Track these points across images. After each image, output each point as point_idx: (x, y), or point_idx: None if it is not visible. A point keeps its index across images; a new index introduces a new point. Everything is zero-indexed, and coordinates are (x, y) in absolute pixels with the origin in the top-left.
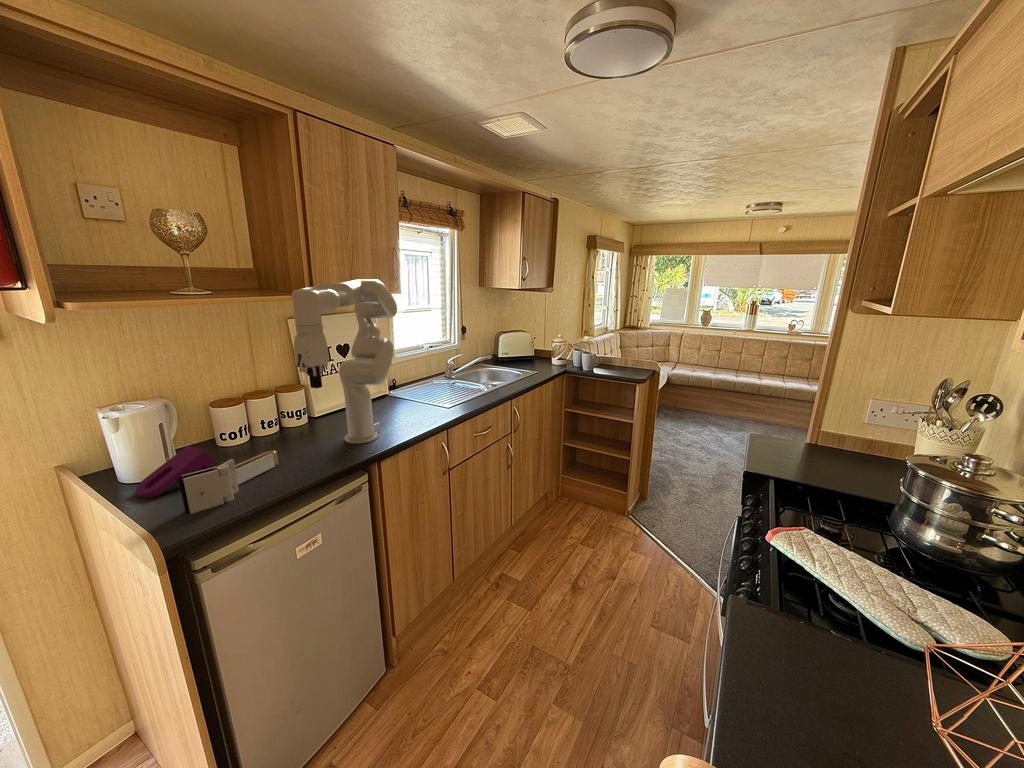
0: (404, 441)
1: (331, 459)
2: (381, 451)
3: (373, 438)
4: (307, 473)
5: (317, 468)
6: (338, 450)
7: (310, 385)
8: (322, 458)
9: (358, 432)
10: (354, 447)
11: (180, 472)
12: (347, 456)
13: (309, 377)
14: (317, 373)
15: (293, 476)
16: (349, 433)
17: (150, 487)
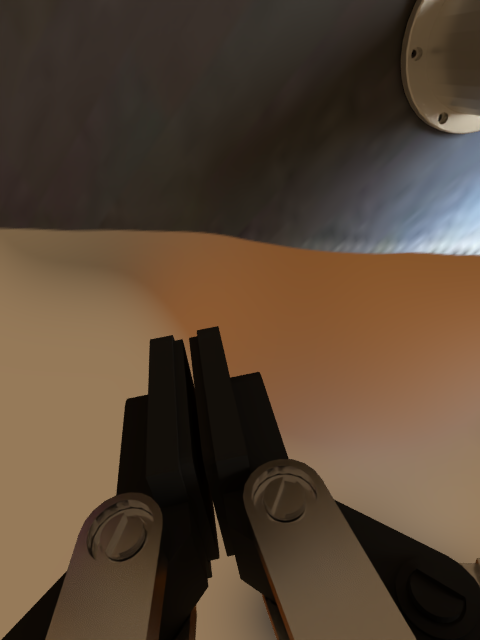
0: (463, 253)
1: (223, 130)
2: (358, 250)
3: (460, 133)
4: (79, 161)
5: (132, 156)
6: (314, 66)
7: (150, 351)
8: (213, 77)
9: (452, 87)
10: (365, 112)
11: None
12: (275, 169)
13: (148, 444)
14: (243, 578)
15: (25, 131)
16: (452, 16)
17: None
